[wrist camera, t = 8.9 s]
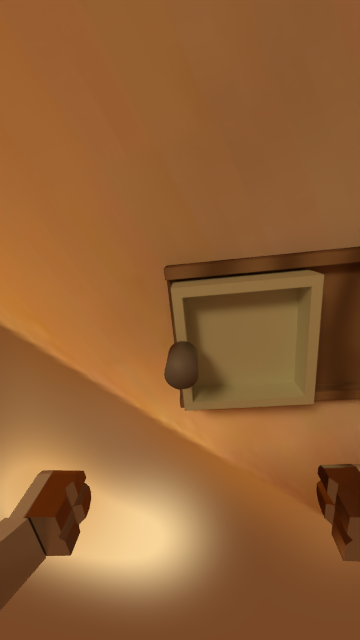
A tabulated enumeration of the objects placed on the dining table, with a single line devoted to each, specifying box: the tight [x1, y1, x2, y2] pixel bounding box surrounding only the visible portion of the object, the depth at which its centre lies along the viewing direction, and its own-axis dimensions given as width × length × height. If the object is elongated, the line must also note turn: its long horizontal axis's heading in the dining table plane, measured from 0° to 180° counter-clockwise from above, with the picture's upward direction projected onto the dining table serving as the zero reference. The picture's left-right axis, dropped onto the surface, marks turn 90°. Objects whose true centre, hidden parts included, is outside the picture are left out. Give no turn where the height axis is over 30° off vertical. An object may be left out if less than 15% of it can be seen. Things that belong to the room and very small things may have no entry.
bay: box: [164, 247, 360, 408], centre depth 28 cm, size 26×17×4 cm, turn 96°
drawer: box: [164, 269, 324, 411], centre depth 25 cm, size 15×14×8 cm
